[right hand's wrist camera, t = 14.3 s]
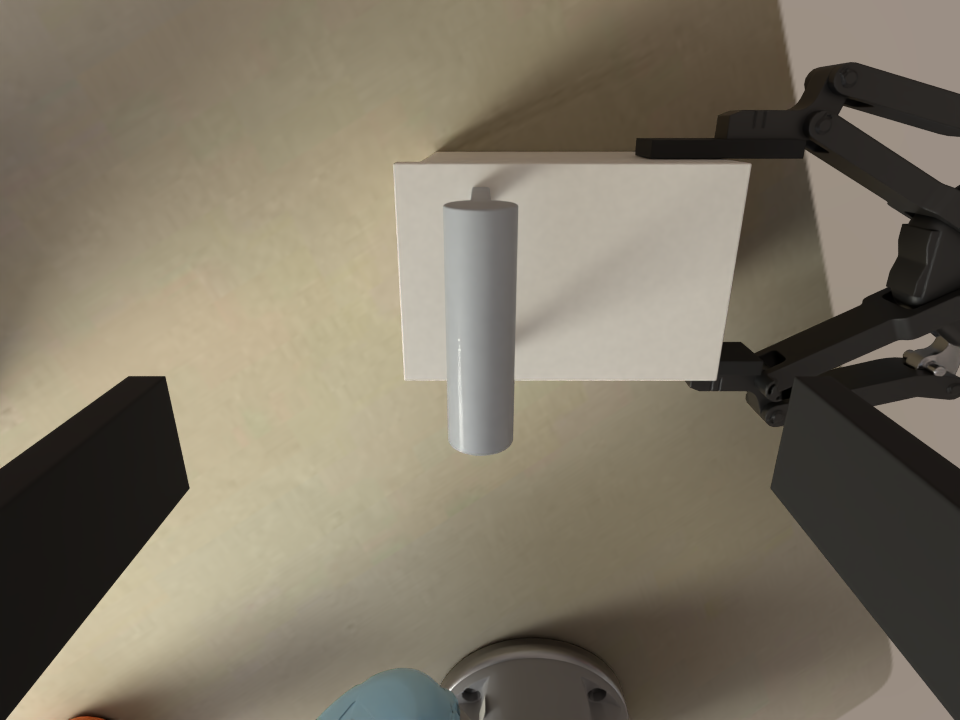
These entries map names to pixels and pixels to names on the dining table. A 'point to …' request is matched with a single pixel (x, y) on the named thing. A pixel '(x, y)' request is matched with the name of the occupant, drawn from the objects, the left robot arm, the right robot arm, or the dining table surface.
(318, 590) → the dining table surface
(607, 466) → the dining table surface
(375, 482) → the dining table surface
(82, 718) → the cup with straw
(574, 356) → the lid
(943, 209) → the left robot arm
